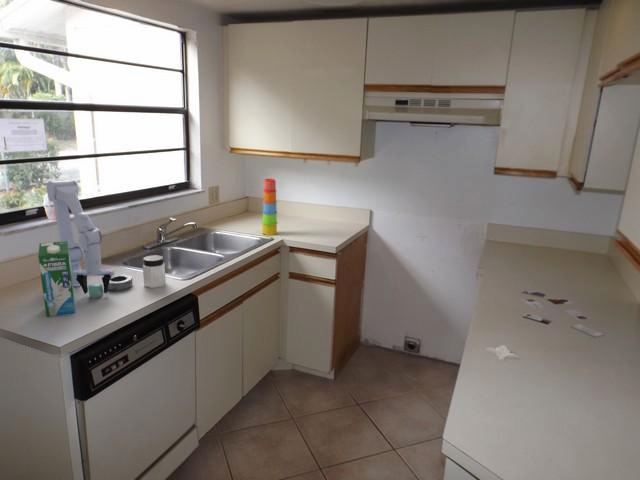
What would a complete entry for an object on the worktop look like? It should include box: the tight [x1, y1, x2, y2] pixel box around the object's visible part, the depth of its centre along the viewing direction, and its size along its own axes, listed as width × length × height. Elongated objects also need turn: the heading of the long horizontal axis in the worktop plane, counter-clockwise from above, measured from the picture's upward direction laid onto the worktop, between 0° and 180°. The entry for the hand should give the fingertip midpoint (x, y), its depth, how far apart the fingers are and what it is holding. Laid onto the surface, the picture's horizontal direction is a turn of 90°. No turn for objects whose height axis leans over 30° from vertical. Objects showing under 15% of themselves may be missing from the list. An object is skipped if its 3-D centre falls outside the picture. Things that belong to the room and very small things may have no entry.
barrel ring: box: [108, 274, 133, 292], centre depth 188 cm, size 10×10×3 cm
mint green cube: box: [87, 282, 104, 299], centre depth 177 cm, size 5×5×4 cm
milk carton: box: [38, 241, 76, 318], centre depth 161 cm, size 9×9×25 cm
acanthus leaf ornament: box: [485, 345, 519, 361], centre depth 146 cm, size 8×7×2 cm
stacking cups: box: [261, 178, 279, 236], centre depth 278 cm, size 10×10×35 cm
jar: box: [142, 254, 167, 289], centre depth 190 cm, size 9×8×12 cm
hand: (96, 292), depth 177 cm, fingers open, 7 cm apart
